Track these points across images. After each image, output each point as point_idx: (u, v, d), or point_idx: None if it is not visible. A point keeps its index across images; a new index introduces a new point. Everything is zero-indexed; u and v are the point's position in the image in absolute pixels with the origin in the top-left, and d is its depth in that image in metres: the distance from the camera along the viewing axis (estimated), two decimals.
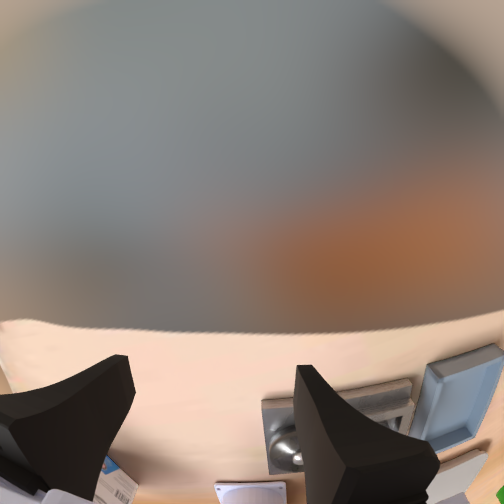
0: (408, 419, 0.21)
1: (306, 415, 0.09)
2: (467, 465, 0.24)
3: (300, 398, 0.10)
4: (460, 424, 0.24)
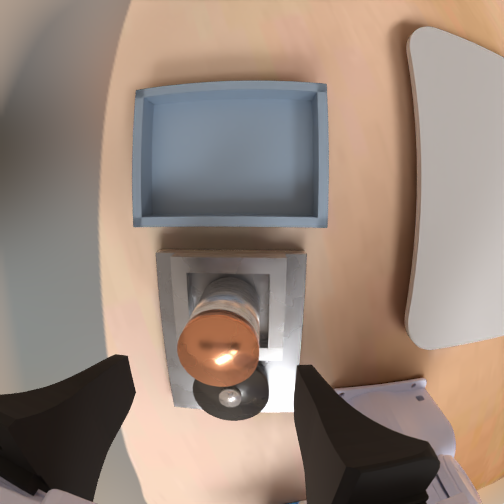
0: (197, 260, 0.18)
1: (306, 415, 0.09)
2: (428, 71, 0.16)
3: (300, 398, 0.10)
4: (301, 113, 0.18)
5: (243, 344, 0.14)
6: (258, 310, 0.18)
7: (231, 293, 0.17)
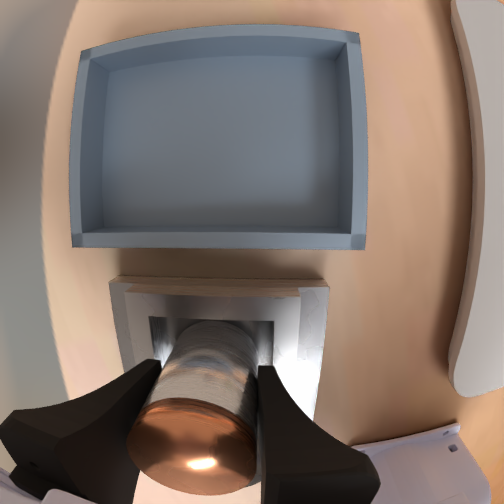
0: (163, 299, 0.12)
1: (260, 416, 0.09)
2: (481, 38, 0.09)
3: (258, 398, 0.10)
4: (320, 77, 0.11)
5: (230, 455, 0.07)
6: (256, 375, 0.11)
7: (213, 357, 0.10)
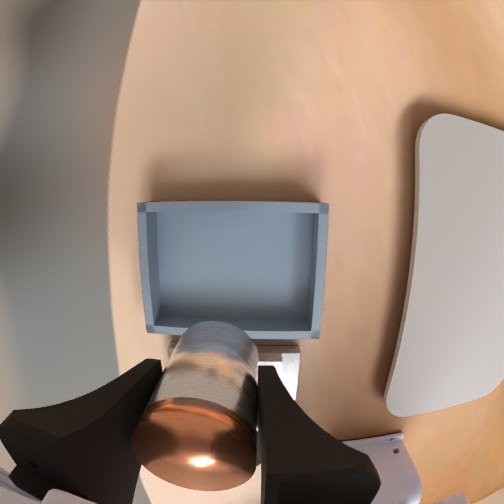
0: None
1: (261, 416, 0.09)
2: (435, 171, 0.18)
3: (258, 399, 0.10)
4: (301, 225, 0.20)
5: (231, 453, 0.07)
6: (256, 374, 0.12)
7: (215, 358, 0.10)
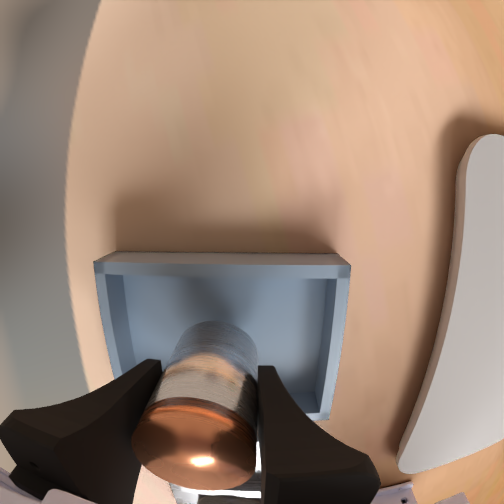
0: None
1: (260, 416, 0.09)
2: (481, 212, 0.13)
3: (258, 398, 0.10)
4: (312, 286, 0.15)
5: (231, 452, 0.07)
6: (256, 374, 0.12)
7: (215, 357, 0.10)
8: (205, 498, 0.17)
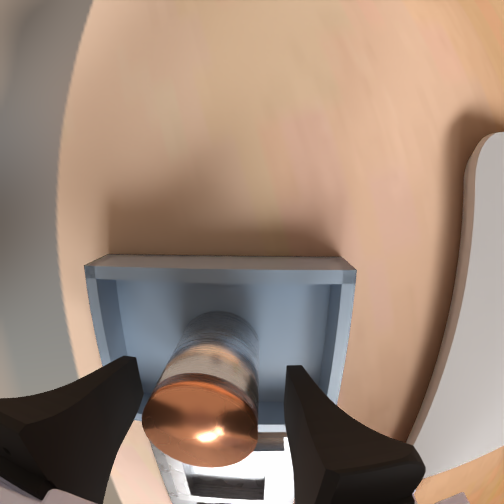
0: None
1: (294, 415, 0.09)
2: (490, 213, 0.12)
3: (289, 398, 0.10)
4: (314, 291, 0.14)
5: (235, 425, 0.08)
6: (257, 359, 0.13)
7: (220, 341, 0.12)
8: None
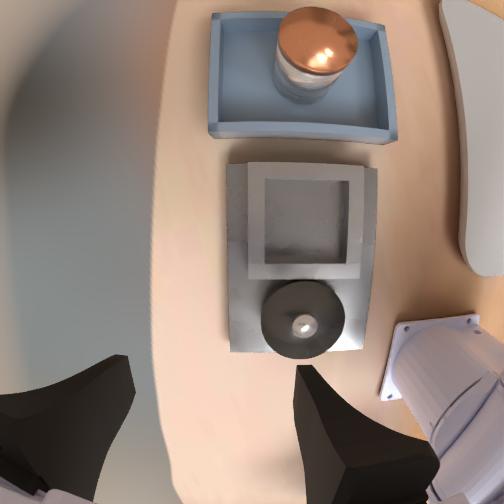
0: (277, 165, 0.17)
1: (306, 415, 0.09)
2: (459, 28, 0.15)
3: (300, 398, 0.10)
4: (361, 50, 0.17)
5: (342, 29, 0.11)
6: None
7: None
8: (275, 291, 0.19)
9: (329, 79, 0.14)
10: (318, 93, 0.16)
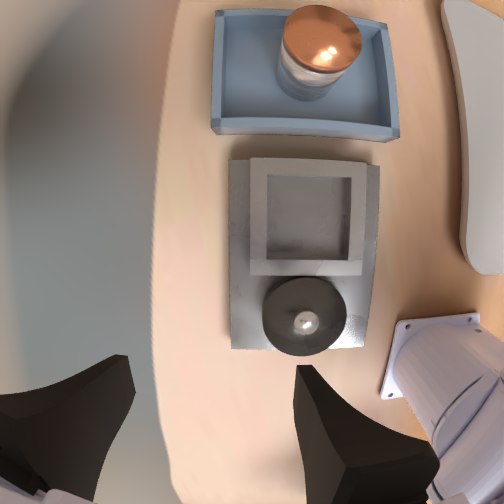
0: (280, 161, 0.17)
1: (306, 415, 0.09)
2: (460, 28, 0.15)
3: (300, 398, 0.10)
4: (364, 48, 0.17)
5: (347, 28, 0.11)
6: None
7: None
8: (277, 287, 0.19)
9: (332, 77, 0.14)
10: (321, 91, 0.16)
